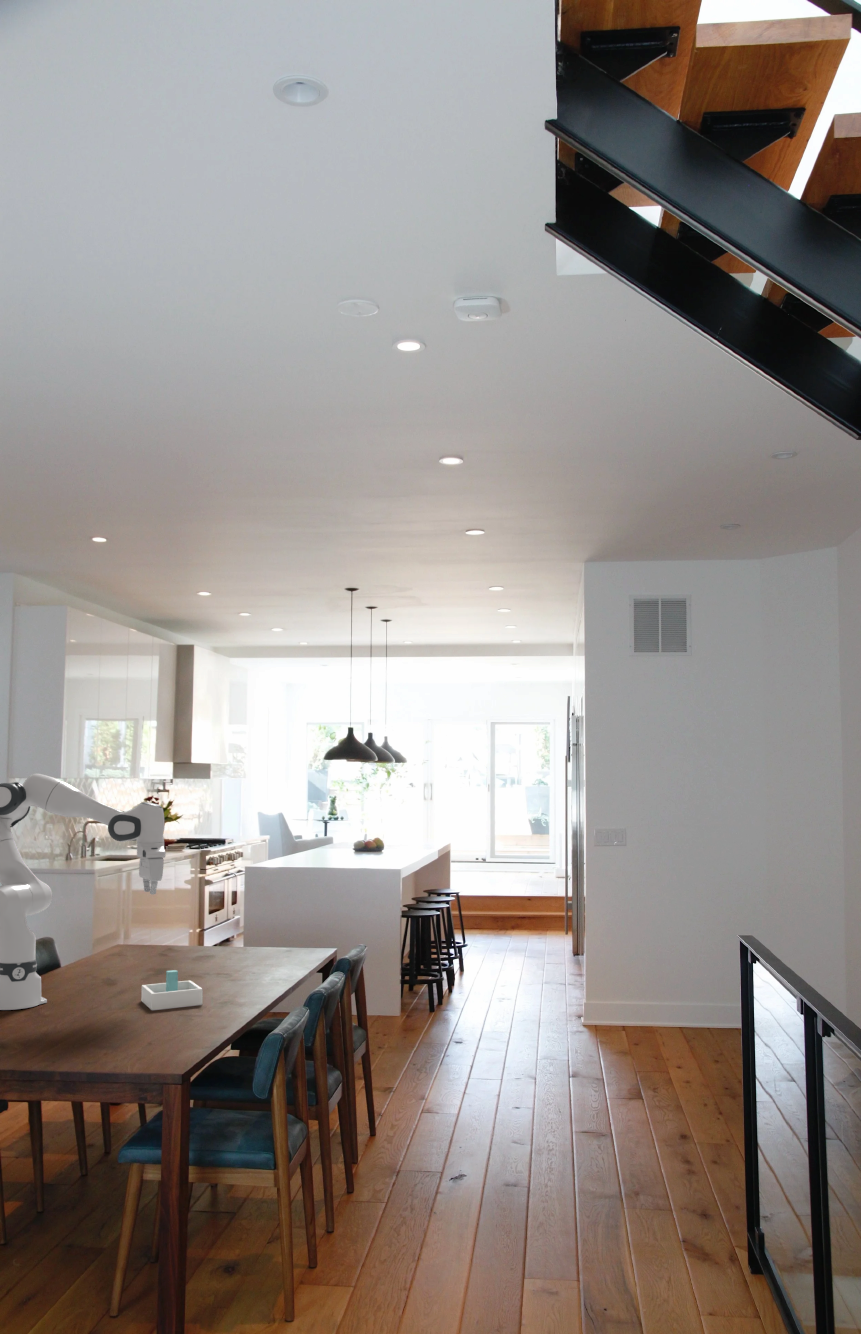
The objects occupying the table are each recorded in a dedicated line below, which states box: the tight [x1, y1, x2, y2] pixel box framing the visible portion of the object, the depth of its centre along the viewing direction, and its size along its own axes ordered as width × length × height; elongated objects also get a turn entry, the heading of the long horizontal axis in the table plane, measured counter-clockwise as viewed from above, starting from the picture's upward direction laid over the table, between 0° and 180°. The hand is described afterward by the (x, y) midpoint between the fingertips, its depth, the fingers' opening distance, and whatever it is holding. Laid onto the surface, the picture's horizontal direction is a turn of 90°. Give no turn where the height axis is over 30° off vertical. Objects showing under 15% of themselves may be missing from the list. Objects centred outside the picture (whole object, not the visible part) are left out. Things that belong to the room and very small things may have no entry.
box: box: [140, 980, 204, 1011], centre depth 335 cm, size 16×16×5 cm
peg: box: [165, 969, 179, 992], centre depth 335 cm, size 3×3×10 cm
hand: (149, 893), depth 346 cm, fingers open, 8 cm apart
